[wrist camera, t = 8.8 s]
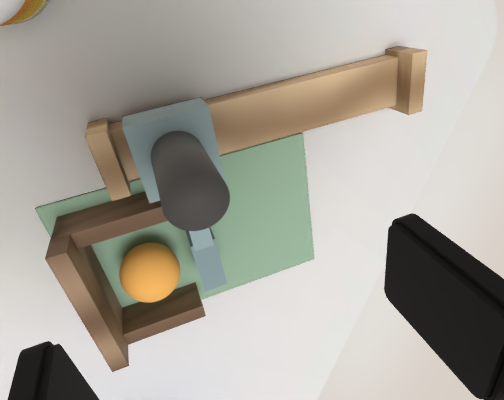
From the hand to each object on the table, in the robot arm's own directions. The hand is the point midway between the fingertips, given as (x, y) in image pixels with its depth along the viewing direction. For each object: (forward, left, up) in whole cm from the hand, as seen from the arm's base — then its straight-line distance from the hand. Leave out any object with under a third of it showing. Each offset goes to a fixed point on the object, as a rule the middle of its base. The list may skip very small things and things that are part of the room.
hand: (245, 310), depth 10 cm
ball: (+10, -5, -14) cm, 17 cm away
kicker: (+5, 0, -18) cm, 18 cm away
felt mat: (+10, 0, -18) cm, 20 cm away
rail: (+1, +7, -18) cm, 19 cm away
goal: (+10, -5, -18) cm, 21 cm away
